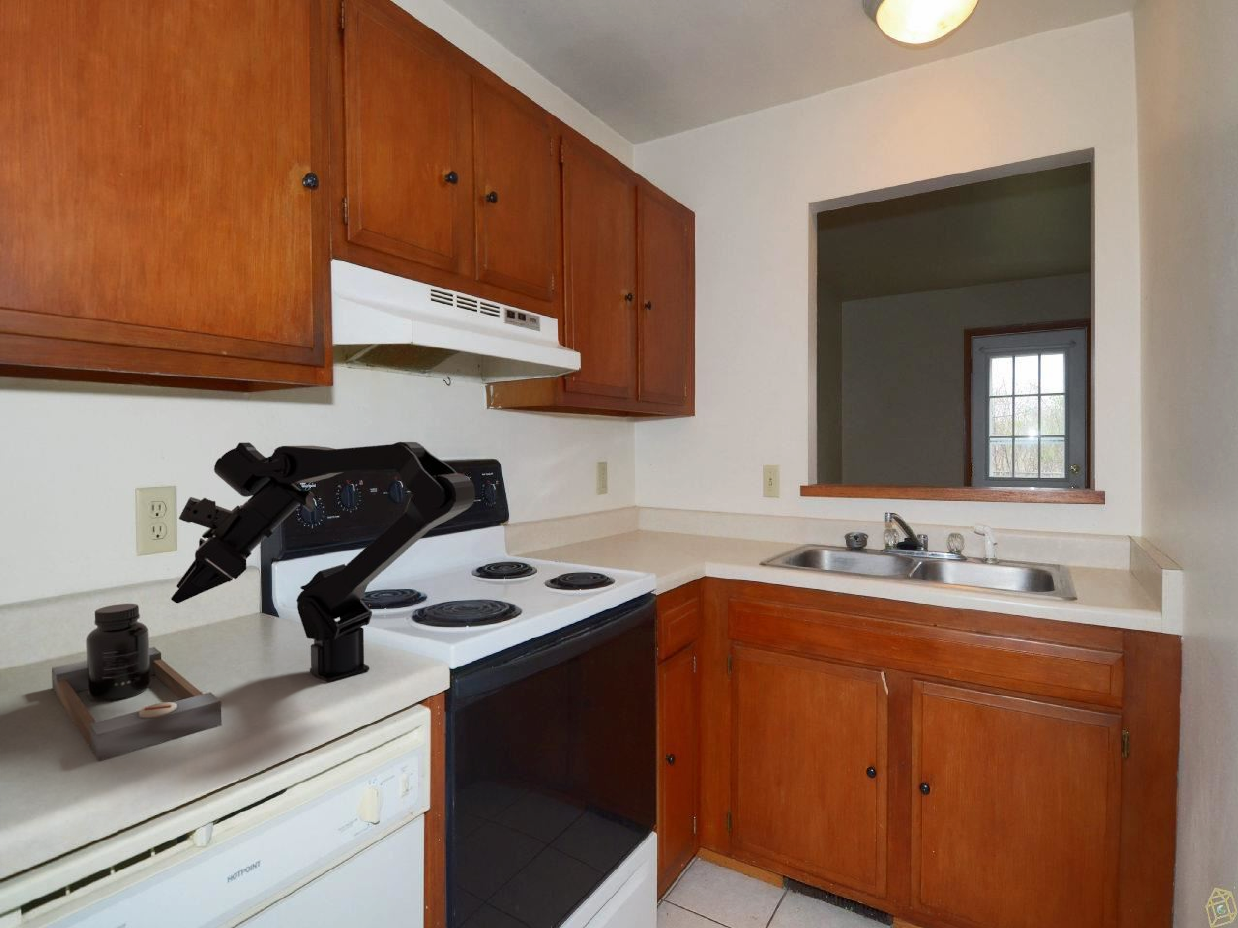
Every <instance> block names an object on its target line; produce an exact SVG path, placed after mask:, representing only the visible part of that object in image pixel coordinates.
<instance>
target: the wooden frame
mask: <svg viewBox="0 0 1238 928" xmlns="http://www.w3.org/2000/svg"><path fill="white" fill-rule="evenodd" d="M149 662H150V676H151V675H154V676H155V677H156V678H157V679H159V681H160V682H162V683H163V684H164V685H165V686H167V688H169V689H170V691H172V692H173V693H174V694H175V696H177V697H179V698H180V699H179V700H176V701H173V702H171V701H165V702H159V703H154V704H151V705H147V706H145V707H143V708H141V709H139V710H138V711H133V712H129V713H126V714H123V715H122V714H121V715H118V716H115V717H110V718H106V719H103V720H99V721H96V720H95V718H94V717H93V715H92V713H91V712H90V711H89V710H88V709H87V707H86V705H85V704H84V703H83V701H82V700H81V697H79V696H78V694H77V693H76V692H82V691H85V690H88V671H87V660H83V661H78V662H73V663H68V664H63V665H59V666H58V665H57V666H54V667H53V666H52V667H51V682H52V685H51V686H52V691H53V692H54V693H55V695H56V696H57V698H58V700H59V701H60V704H61V705H62V706H63V708H64V709H65V711H66V713H67V714H68V715H69V718H70V719H71V720H72V722H73V723H74V726H75V727H76V728H77V730H78V732H79V733H80V735H81V736H82V738H83V740H84V741H85V742H86V743H85V744H87V746H88V748H89V749H90V751H91V753H92V754H93V755H94V757H95V759H96V760H97V762H100V761H103V760H104V761H105V760H107V759H111V758H114V757H117V756H121V755H125V754H127V753H130V752H135V751H137V750H138V751H139V750H142V749H145V748H148V747H151V746H154V745H158V744H160V743H165V742H168V741H170V740H171V741H172V740H175V739H178V738H181V737H185V736H188V735H191V734H195V733H198V732H201V731H205V730H207V729H208V728H209V729H212V728H215V726H216V727H218V725H219V726H222V700H221V699H219V697H217V696H215V694H213V693H212V692H207V693H206V692H205V693H203V692H202V691H200V690H199V689H198V688H197V687H196V686H194V685H193V684H192V683H190V682H189V681H188V680H187V679H186V678H185V677H184V676H182V675H181V673H179V672H178V671H176V670H175V669H174V668H173V667H171V666H170V665H169V664H168V663H167V662H166V661H164V660H163V659H162V652H161V651H160V650H159V649H157V648H156V647H154V646H152V647H149ZM209 729H208V730H209Z"/></svg>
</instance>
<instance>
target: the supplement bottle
mask: <svg viewBox="0 0 1238 928" xmlns="http://www.w3.org/2000/svg"><path fill="white" fill-rule="evenodd" d="M139 607H140V606H139V605H138V604H137V603H121V604H112V605H107V606H103V607H100V608H98V609H96V610H94V625H95V626H96V628H94V629H93V630H91V631H90V632H89V633H88V635H87V637H86V641H85V642H86V643H85V644H86V645H85V646H86V647H85V648H86V661H87V671H88V689H87V690H88V697H89V698H90V699H91V700H93V701H95V702H112V701H113V702H114V701H118V700H124V699H127V698H131V697H134V696H137V695H139V694H141V693H144V692H145V691H147V690H148V688H149V687H150V685H151V675H150V662H149V648H150V642H149V641H150V639H149V637H150V635H149V629H148V627H147V626H146V624H144V623H142V622H141V621H138V620H139V619H140V617H141V615H140V610H139V609H140V608H139Z"/></svg>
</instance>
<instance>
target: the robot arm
mask: <svg viewBox="0 0 1238 928" xmlns="http://www.w3.org/2000/svg"><path fill="white" fill-rule="evenodd" d="M213 466H214V467H213V471H214V473H215V474H216V476H217V477H218V478H220V479H221V480H223V482H225V483H226V484H227V485H228V486H229V487H230V488H232V489H233V490H234V491H235V492H236V493H237V494H239V495H240V496H241V497H245V498H247V497H248V498H249V497H250V498H249V499H247V500H246V501H245V502H244V503H243V504H241V505H236V506H235V507H234V508H233V509H231V510H230V509H227V508H224V507H222V506H219V505H217V503H216V501H215V500H212V499H208V498H206V497H203V498H202V499H199V498H196V497H192V496H190V497H189V498H188V500H187V502H186V503H185V505H184V507H183V509H182V510H181V511H182V512H181V513H180V515H179V516H178V519H179V520H180V521H182V522H185V523H188V524H190V523H193V524H196V525H199V526H201V527H205V528H208V529H207V530H206V531H205V532H204V533H202V535H201V537H202V538H201V537H200V538H199V540H198V543H199V544H198V545H199V546H198V548H197V549H195V553H194V558H195V559H194V560H193V562H191V564H190V565H189V567H188V568H187V570H186V572H184V573H183V575H182V577H181V578H180V579H179V581H178V582H177V584H176V586H175V587H176V588H177V590H176V591H175V593H174V594H173V595H172V596H171V598H170V600H171V601H172V602H174V603H175V604H180V603H183V602H185V601H186V600H189V599H191V598H194V597H196V596H197V595H201V594H203V593H205V592H207V591H210V590H212V589H214V588H216V587H219V586H221V585H223V584H226V583H228V582H229V583H230V582H231V581H233V579H235V580H236V579H238V578H239V577H241V575H242V574H243V573H244V572H245V571H246V570H247V558H249V557H250V556H251V555H252V551H253V550H255V548H256V547H257V546H259V545H260V544H261V543H262V542H263V541H264V539H266V538H269V537H270V536H271V535H273V534H274V532H273V531H274V530H275V529H276V528H277V527H278V526H279V525H280V524H281V523H282V522H284V520H285V519H287V518H288V517H289V516H290V514H292V513H293V512H294V511H295V510H296V509H297V508H298V507H300V506H302V507H303V508H304V509H306V510H307V511H308V512H314V497H315V495H314V493H313V492H312V491H310V490H308V489H307V490H301V489H300V488H299V487H298V486H297V485H295V484H302V483H303V484H304V483H314V482H318V481H322V480H325V479H329V478H332V477H335V476H336V475H339V474H343V473H352V472H353V473H354V472H365V471H366V472H367V471H369V472H370V471H379V470H391V469H392V470H393V469H394V470H395V471H396V472H397V473H398V474H399V476H400V478H401V480H402V482H403V483H404V486H405V487H406V488H407V490H408V491H409V492H411V494H412V495H411V496H410V498H409V501H408V503H407V506H406V509H405V511H404V512H403V513H402V514H401V515H400V516H399V517H398V518H397V519H396V520H394V521H393V522H392V523H391V524H390V525H389V526H388V527H386V529H384V530H383V531H382V532H381V533H380V534H379V535H378V536H377V537H375V538H374V540H373V541H371V542H369V544H368V545H366V547H365V548H363V550H361V551H360V552H359V553H358V554H357V555H356V556H355V557H353V559H351V560H350V561H349V562H348V563H347V564H345V563H343V564H339V565H336V566H332V567H329V568H325V569H321V570H319V571H317V572H316V573H315V574H314V576H313V577H312V578H311V580H310V581H309V582H308V583H306V584H305V585H301V586H300V589H301V590H302V591H301V592H300V593H299V594H298V595H297V598H296V603H297V604H296V606H297V607H296V608H297V613H298V616H299V618H300V621H301V625H302V627H303V630H304V633H305V636H306V638H307V639H312V640H313V644H311V645H310V668H309V672H310V673H312V674H314V675H315V676H317V677H318V678H320V679H323V680H324V681H327V682H331V681H334V680H339V679H342V678H345V677H346V678H347V677H349V676H353V675H356V674H360V673H363V672H366V671H369V670H370V666H369V665H367V664H366V663H365V647H364V646H365V645H364V643H365V642H364V639H365V637H364V635H365V634H364V626H368V625H369V624H370V622H371V619H372V616H373V612H372V611H373V610H371V609H370V608H369V606H368V605H366V603H365V602H364V601H363V600H362V599H363V597H364V596H365V593H366V589H367V587H368V585H370V584H371V582H372V581H373V580H375V579H376V578H377V577H379V575H380V574H382V573H383V572H384V571H385V570H386V569H387V568H388V567H389V566H391V565H392V563H394V562H396V560H397V559H399V557H400V556H402V555H403V554H404V553H405V552H406V551H408V549H410V548H411V547H412V546H413V545H414V544H415V543H416V542H418V541H419V540H420V539H421V538H422V537H424V535H426V534H427V533H428V532H429V531H430V530H432V529H434V528H436V527H437V526H439V525H441V524H443V523H445V522H447V521H449V520H451V519H453V518H454V517H456V516H458V515H459V514H461V513H463V512H465V511H467V510H468V509H469V508H471V507H472V505H473V504H474V503H475V499H476V490H475V486H474V485H475V484H473V482H472V480H471V479H470V478H469V477H468V476H467V475H465V474H463V473H459V472H457V471H456V470H455V469H454V468H453V467H451V466H450V465H449V464H447V463H446V462H444V461H443V460H442V459H440V458H438V457H436V456H435V455H433V454H432V453H430V451H429V450H427V449H426V448H425V447H424V446H423V445H421V444H420V443H419V442H417V441H398V442H394V443H392V444H390V443H389V444H383V445H382V444H380V445H378V444H377V445H369V446H368V445H367V446H356V447H355V446H354V447H345V448H333V447H327V446H320V445H281V446H277V448H275V449H274V450H273V452H272V454H271V456H268V457H266V456H264V455H263V454H262V453H261V452H259V450H257V448H256V447H255V445H253V444H252V443H250V442H238V444H237V445H236V447H235V448H232V449H230V450H228V451H227V452H225V453H224V454H223V455H222V456H221V457H219V458H218V459H216V462H215V464H214V465H213ZM338 618H339V620H337V621H336V619H338Z"/></svg>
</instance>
